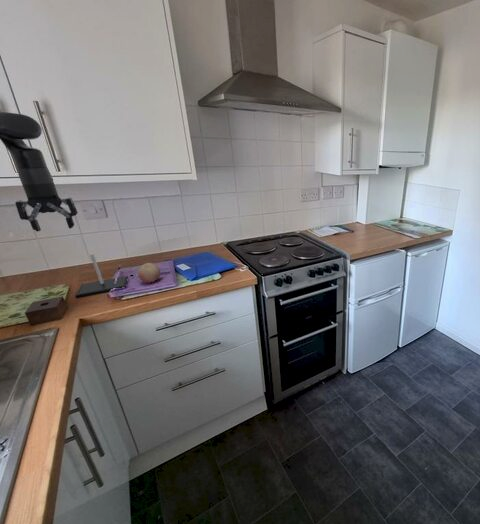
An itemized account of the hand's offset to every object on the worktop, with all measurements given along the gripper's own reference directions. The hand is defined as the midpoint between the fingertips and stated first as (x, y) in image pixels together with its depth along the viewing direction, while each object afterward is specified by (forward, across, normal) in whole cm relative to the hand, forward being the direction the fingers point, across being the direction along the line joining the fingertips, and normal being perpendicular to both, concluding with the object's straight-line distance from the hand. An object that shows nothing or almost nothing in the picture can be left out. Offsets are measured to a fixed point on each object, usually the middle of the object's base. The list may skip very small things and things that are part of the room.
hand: (55, 229), depth 105 cm
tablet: (+28, +6, +8) cm, 29 cm away
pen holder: (+28, -7, -9) cm, 31 cm away
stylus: (+26, +6, +8) cm, 28 cm away
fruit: (+28, +23, +4) cm, 36 cm away
